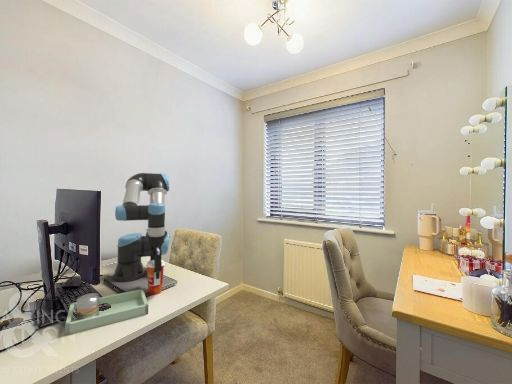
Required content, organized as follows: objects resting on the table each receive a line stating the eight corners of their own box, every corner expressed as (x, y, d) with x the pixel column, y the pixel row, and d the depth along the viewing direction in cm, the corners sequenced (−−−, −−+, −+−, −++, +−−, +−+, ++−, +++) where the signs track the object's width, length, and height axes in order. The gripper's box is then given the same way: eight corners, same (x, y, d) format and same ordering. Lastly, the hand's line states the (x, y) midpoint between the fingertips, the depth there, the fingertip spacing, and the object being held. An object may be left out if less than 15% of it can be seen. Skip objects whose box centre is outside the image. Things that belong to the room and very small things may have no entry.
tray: (70, 314, 92) (70, 303, 92) (142, 298, 106) (142, 288, 106) (65, 338, 79) (65, 325, 79) (148, 316, 93) (148, 305, 93)
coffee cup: (143, 291, 113) (143, 261, 112) (160, 286, 119) (160, 257, 118) (149, 297, 107) (150, 266, 106) (167, 292, 113) (167, 262, 112)
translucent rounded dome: (77, 315, 90) (77, 295, 89) (99, 310, 94) (99, 291, 93) (75, 325, 84) (75, 304, 83) (99, 320, 88) (99, 299, 87)
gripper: (144, 231, 118) (143, 274, 120) (151, 241, 101) (150, 292, 102) (160, 230, 123) (159, 272, 124) (169, 239, 105) (168, 288, 106)
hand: (155, 281), depth 113 cm, fingers closed on coffee cup, 8 cm apart
